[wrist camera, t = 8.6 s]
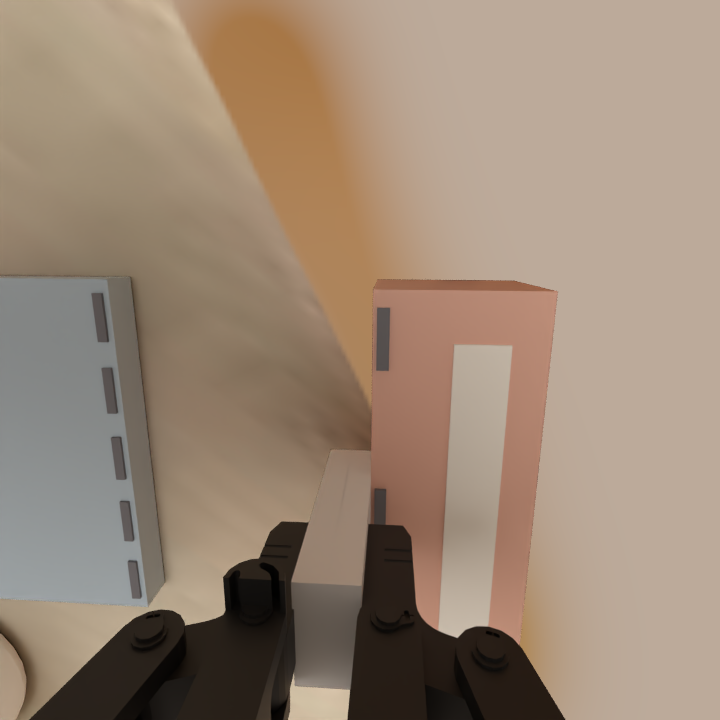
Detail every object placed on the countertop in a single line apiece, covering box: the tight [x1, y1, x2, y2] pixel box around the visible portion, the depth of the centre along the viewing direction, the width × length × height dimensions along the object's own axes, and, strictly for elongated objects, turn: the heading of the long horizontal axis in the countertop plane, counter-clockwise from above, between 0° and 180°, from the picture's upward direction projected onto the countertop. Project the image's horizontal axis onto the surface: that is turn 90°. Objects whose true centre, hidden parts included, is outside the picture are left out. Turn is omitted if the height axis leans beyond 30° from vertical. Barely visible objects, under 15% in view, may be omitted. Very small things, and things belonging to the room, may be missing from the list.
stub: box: [370, 279, 558, 646], centre depth 16 cm, size 14×5×5 cm, turn 0°
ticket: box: [0, 276, 165, 607], centre depth 19 cm, size 14×12×2 cm
